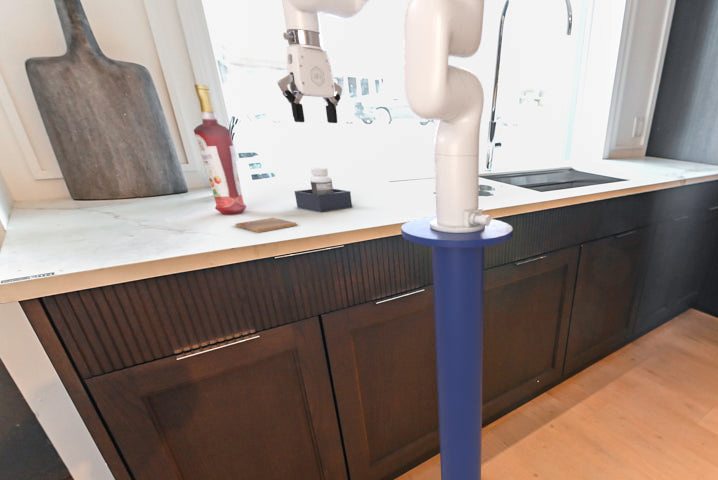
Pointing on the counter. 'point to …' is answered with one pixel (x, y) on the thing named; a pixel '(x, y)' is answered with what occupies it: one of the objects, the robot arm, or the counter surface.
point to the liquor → (218, 157)
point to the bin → (323, 200)
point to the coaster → (265, 224)
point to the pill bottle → (321, 181)
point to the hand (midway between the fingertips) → (316, 122)
